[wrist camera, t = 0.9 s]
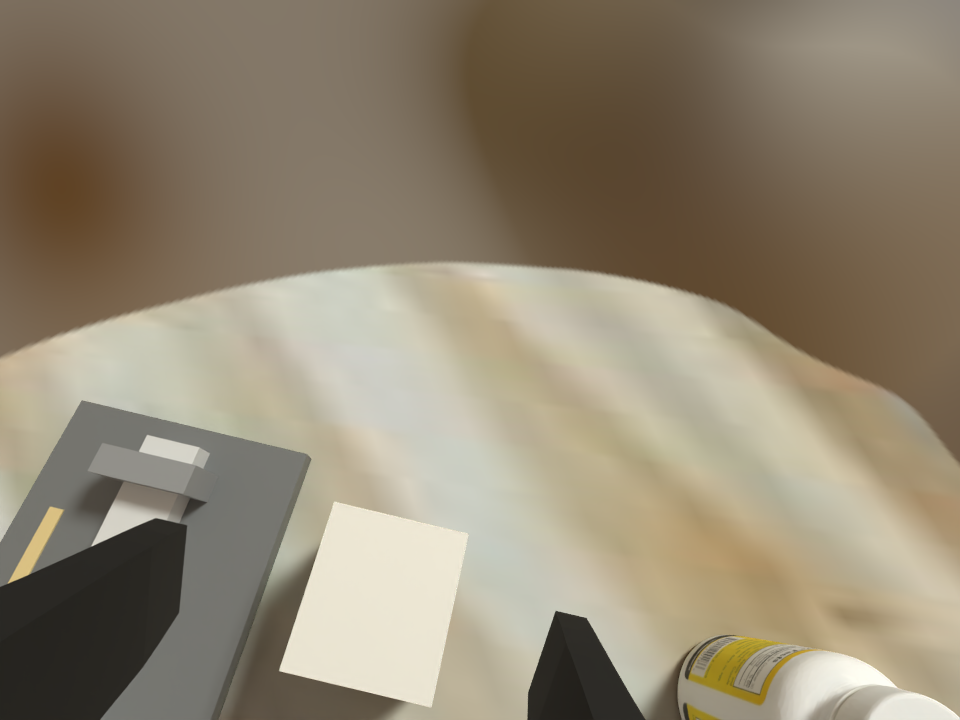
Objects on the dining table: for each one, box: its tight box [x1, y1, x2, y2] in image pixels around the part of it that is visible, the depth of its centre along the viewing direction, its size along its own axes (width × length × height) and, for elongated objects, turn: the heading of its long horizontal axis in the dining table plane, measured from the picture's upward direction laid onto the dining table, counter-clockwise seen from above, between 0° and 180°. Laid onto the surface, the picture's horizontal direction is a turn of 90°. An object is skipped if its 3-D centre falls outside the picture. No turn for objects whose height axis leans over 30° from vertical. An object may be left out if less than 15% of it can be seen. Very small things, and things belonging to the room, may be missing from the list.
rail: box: [0, 401, 311, 720], centre depth 18 cm, size 22×11×7 cm, turn 168°
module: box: [279, 502, 469, 707], centre depth 20 cm, size 6×5×6 cm
